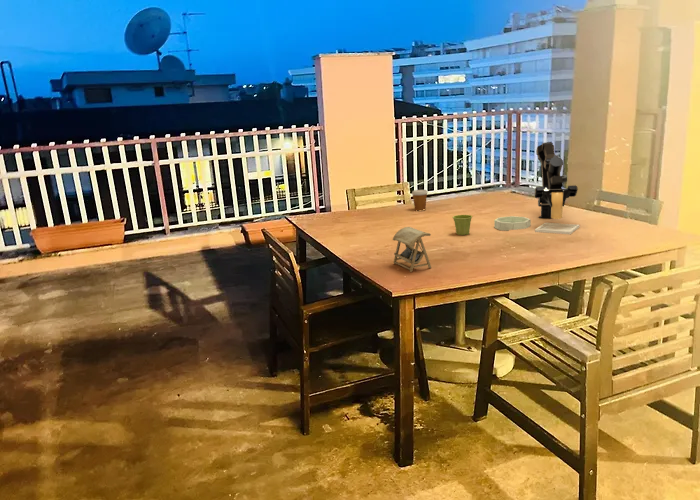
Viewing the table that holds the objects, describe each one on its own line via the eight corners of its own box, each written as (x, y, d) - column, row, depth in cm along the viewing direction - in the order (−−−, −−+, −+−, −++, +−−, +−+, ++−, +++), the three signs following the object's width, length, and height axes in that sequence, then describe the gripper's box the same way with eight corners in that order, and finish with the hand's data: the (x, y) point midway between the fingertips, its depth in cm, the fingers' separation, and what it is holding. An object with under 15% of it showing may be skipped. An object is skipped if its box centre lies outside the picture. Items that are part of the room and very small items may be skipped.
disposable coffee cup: (429, 211, 326) (428, 191, 323) (413, 212, 326) (412, 192, 323) (427, 208, 335) (426, 189, 332) (411, 209, 335) (410, 190, 332)
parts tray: (545, 226, 266) (545, 222, 265) (579, 228, 256) (579, 224, 256) (534, 233, 253) (534, 229, 253) (570, 236, 244) (570, 231, 243)
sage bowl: (502, 223, 279) (502, 215, 278) (533, 225, 270) (533, 217, 269) (490, 229, 267) (490, 221, 266) (522, 232, 258) (522, 223, 257)
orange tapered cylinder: (552, 216, 259) (553, 191, 256) (563, 216, 256) (564, 191, 253) (549, 218, 255) (550, 193, 252) (560, 219, 252) (561, 193, 249)
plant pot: (450, 235, 260) (450, 218, 258) (456, 231, 268) (455, 214, 266) (469, 236, 256) (469, 218, 254) (474, 232, 264) (474, 214, 262)
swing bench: (392, 264, 219) (390, 228, 215) (412, 260, 223) (411, 225, 219) (410, 272, 206) (409, 235, 202) (432, 268, 210) (430, 231, 206)
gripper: (535, 170, 256) (538, 197, 248) (577, 168, 252) (581, 195, 244) (533, 184, 265) (535, 210, 257) (573, 182, 261) (577, 209, 254)
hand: (557, 206), depth 253 cm, fingers closed on orange tapered cylinder, 5 cm apart
